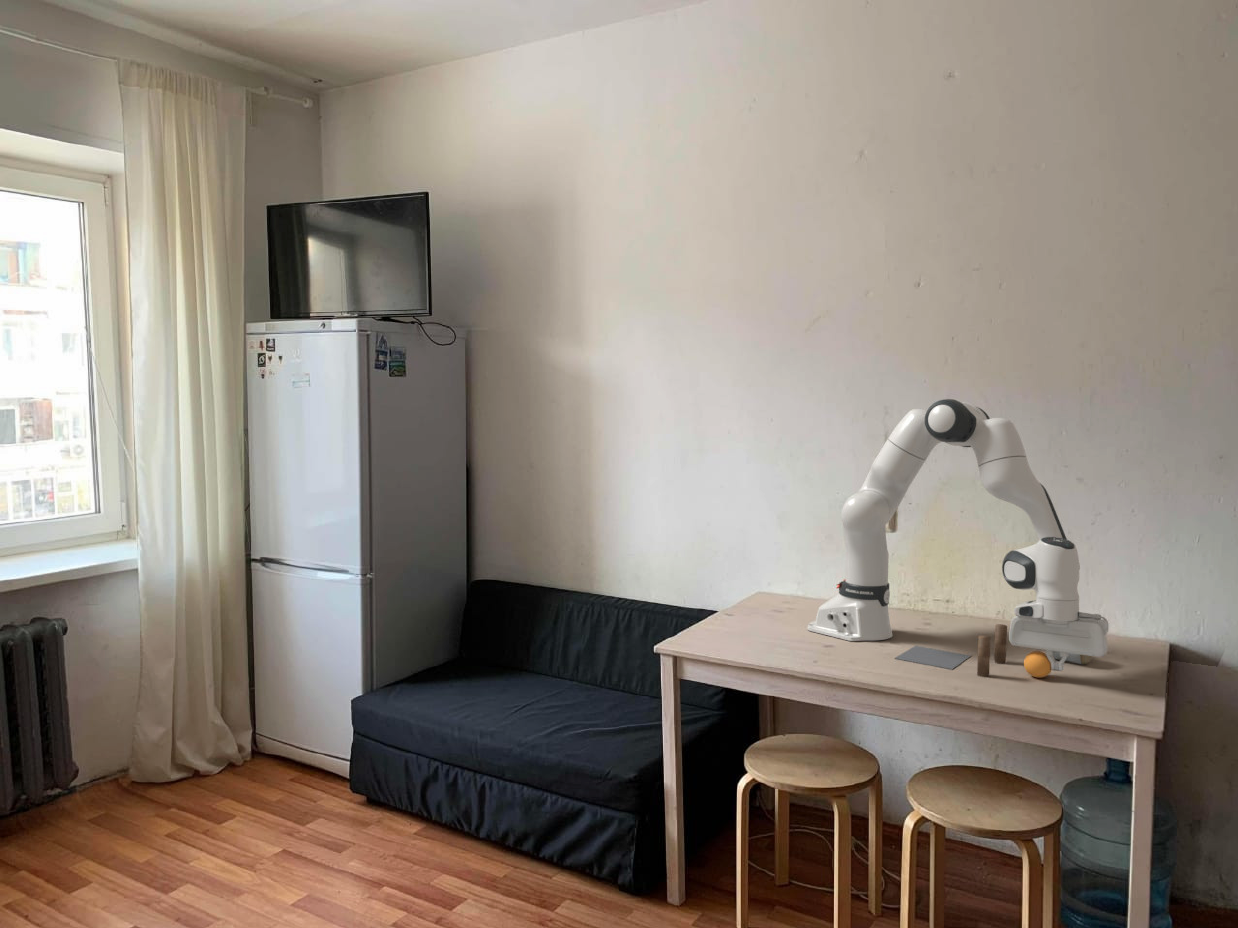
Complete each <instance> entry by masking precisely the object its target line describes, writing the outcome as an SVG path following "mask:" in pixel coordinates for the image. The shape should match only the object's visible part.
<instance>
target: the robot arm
mask: <svg viewBox="0 0 1238 928" xmlns="http://www.w3.org/2000/svg"><path fill="white" fill-rule="evenodd" d="M941 443H944V444H945V443H946V444H948V445H951V446H954V447H955V446H959V447H962V448H971V449H972V451H974V455H975V457H976V458H975V459H976V461H977V466H978V471H979V476H980V479H981V482H982V484H983V486H984V488H985V490H986V491H987V492H988V493H989V494H991V495H992V496H993V497H995V498H997V499H998V500H1002V501H1003V502H1007V503H1010V504H1013V505H1015V506H1016V507H1018V508H1020V509H1021V510H1023V511H1024V512H1025V513H1026V514H1027V515H1028V517H1029V518H1030V521H1031V524H1032V526H1033V528H1034V531H1035V533H1036V536H1037V539H1038V541H1037V542H1036V543H1034V544H1032V545H1029V546H1025V547H1022V548H1017V549H1014V550H1010V551H1008V552H1007V553H1006V555H1005V556H1004V558H1003V560H1002V565H1001V570H1002V576H1003V578H1004V580H1005V581H1006V583H1007V584H1008V585H1009V586H1010V587H1011V588H1013V589H1016V590H1022V591H1025V590H1026V591H1027V590H1035V592H1036V594H1035V600H1034V599H1033V600H1029V601H1025V602H1024V601H1023V602H1021V603H1018V604H1017V605H1015V607H1014V608H1013V609H1014V610H1013V613H1014V615H1015V616H1013V618H1012V619H1011V621H1010V625H1009V632H1008V633H1009V635H1008V640H1009V643H1010V644H1011V646H1014V647H1018V648H1019V647H1020V648H1029V649H1035V650H1041V651H1042V650H1043V651H1045V654H1046V656H1047V658H1048V659H1049V661H1050V662H1051V671H1057V672H1063V671H1064V663H1065V662H1066V661H1065V660H1066V659H1067V657H1068V656H1069V653H1073V654H1080V655H1088V656H1092V657H1098V658H1102V657H1103V656H1105V655H1106V654H1107V653H1108V648H1109V647H1108V639H1107V638H1108V636H1107V634H1108V632H1109V620H1108V619H1107V618H1105V617H1104V616H1102V615H1101V614H1099V613H1088V612H1080V596H1079V591H1078V585H1079V582H1080V569H1081V567H1080V559H1079V553H1078V549H1077V547H1076V544H1075V543H1074V542H1072V541H1071V540H1068V538H1067V537H1066V535H1065V532H1064V529H1063V527H1062V524H1061V521H1060V519H1059V516H1058V514H1057V512H1056V511H1057V510H1056V509H1055V506H1054V504H1053V502H1052V499H1051V496H1050V495H1049V493H1048V491H1047V490H1046V488H1045V486H1044V485H1043V484H1042V483H1041V482H1039V480H1038V479H1037V477H1036V476H1035V475H1034V473H1033V471H1032V469H1031V467H1030V464H1029V462H1028V458H1027V454H1026V451H1025V447H1024V444H1023V442H1022V439H1021V437H1020V435H1019V432H1018V430H1017V428H1016V426H1015V424H1014V422H1012V421H1011V420H1010V419H1007V418H1004V417H991V418H990V416H989V415H988V413H987V412H986V411H985V410H983V409H982V408H980V407H978V406H975V405H974V404H971V403H969V402H967V401H959V400H957V399H951V398H943V399H939V400H938V401H935V402H934V403H932V404H931V405H930V406H929V407H928V408H927V409H924V408H913V409H911V410H909V411H908V412H907V413H906V414H905V415H904V416H903V418H902V419H900V421H898V423H897V425H896V426H895V428H893V430H892V432H891V433H890V434H889V436H888V438H887V439H886V441H885V442H884V444H883V446H882V447H881V449H880V451H879V453H878V454H877V456H876V457H875V459H874V460H873V462H872V464H871V467H870V470H869V472H868V473H867V475H866V478H865V479H864V482H863V483H862V485H861V487H860V488H859V490H858V491H857V492H855V494H852V495H851V496H849V497H848V498H847V499H846V500H845V502H844V504H843V505H842V509H841V512H840V513H841V516H840V517H841V521H842V528H843V529H842V530H843V538H844V546H845V579H843V580H841V581H840V582H839V583H837V584H836V588H835V589H838V593H837V594H835V595H834V596H832V597H831V598H830V599H828V600H826V602H823V603H822V604H821V605H820V606H819V608H818V609H817V612H816V613H817V614H816V616H815V620H813V621H811V622H809V623H808V624H807V628H806V629H807V631H809V632H813V633H817V634H821V635H826V636H829V637H834V638H837V639H842V640H845V641H849V642H860V641H861V642H862V641H883V640H888V639H891V638H892V637H893V631H892V626H891V621H890V615H889V614H890V613H889V603H890V593H891V592H890V583H889V559H890V557H889V555H890V554H889V551H888V544H887V533H886V532H887V531H886V527H887V526H886V525H887V524H888V523H889V522H890V521H891V520H892V518H893V516H894V515H895V513H896V511H897V510H898V507H899V506H900V504H901V503H902V501H903V499H904V497H905V496H906V493H907V491H908V490H909V487H910V486H911V484H912V483H913V481H914V480H915V478H916V476H917V474H918V473H919V471H920V470H921V469H922V467H923V466H924V463H925V462H926V461H927V459H928V457H929V456H930V454H931V452H932V450H933V449H934V448H935V447H936V446H937V445H939V444H941ZM1054 651H1057V652H1060V656H1061V657H1063V658H1062V659H1061V660H1059V661H1057V659H1054V657H1053V654H1054Z"/></svg>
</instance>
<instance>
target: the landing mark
mask: <svg viewBox="0 0 1238 928" xmlns="http://www.w3.org/2000/svg"><path fill="white" fill-rule="evenodd" d="M970 656H971V657H972V655H971V654H965V653H964V654H963V653H960V652H954V651H948V650H941V649H937V648H930V647H925V646H921V645H920V646H919V645H914V646H912V647H911V648H909V649H907V650H906V651H904V652H903V653H901V654H899V655H898V656H896V657H894V660H899V661H903V662H910V663H915V664H921V665H925V666H931V667H934V668H935V667H936V668H940V669H947V670H954V669H955V668H957V667H958V666H959V664H960V665H961V664H962V663H964V662H965V661H967V660H968V659H970V658H971V657H970ZM969 657H970V658H969ZM966 659H967V660H966ZM963 661H964V662H963Z"/></svg>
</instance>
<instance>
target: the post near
mask: <svg viewBox="0 0 1238 928" xmlns="http://www.w3.org/2000/svg"><path fill="white" fill-rule="evenodd" d="M977 640H978V641H977V642H978V643H977V668H976V669H977V670H976V671H977V672H976V676H979V677H984V678H986V677H987V678H988V677H990V666H991V665H990V663H991V662H990V661H991V636H989V635H979V636H978V639H977Z"/></svg>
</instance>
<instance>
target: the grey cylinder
mask: <svg viewBox="0 0 1238 928" xmlns="http://www.w3.org/2000/svg"><path fill="white" fill-rule="evenodd" d="M1053 657H1054V659H1055V660H1059V661H1060V660H1061V659H1062V658H1063V657H1061V656H1060V652H1057V651H1054V654H1053ZM1092 657H1093V656H1088V655H1080V654H1073V653H1069V656H1068V657H1067V659H1066V660H1065V662H1068V663H1071V664H1072V663H1073V664H1077V665H1087V664H1088V663H1090V661H1091V660H1092Z"/></svg>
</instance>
